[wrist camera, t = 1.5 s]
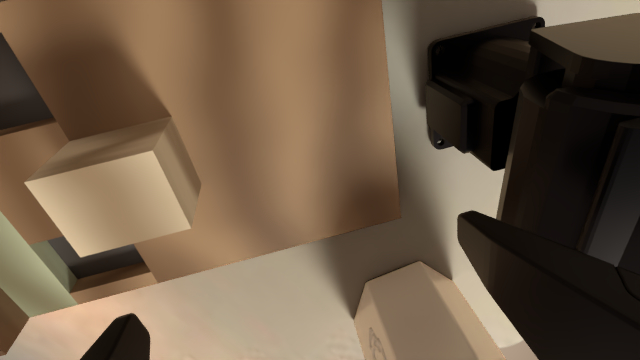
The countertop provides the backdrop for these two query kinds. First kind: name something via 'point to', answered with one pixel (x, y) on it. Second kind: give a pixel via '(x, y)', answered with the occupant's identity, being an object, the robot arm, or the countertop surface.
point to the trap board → (193, 131)
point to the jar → (420, 319)
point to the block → (119, 187)
